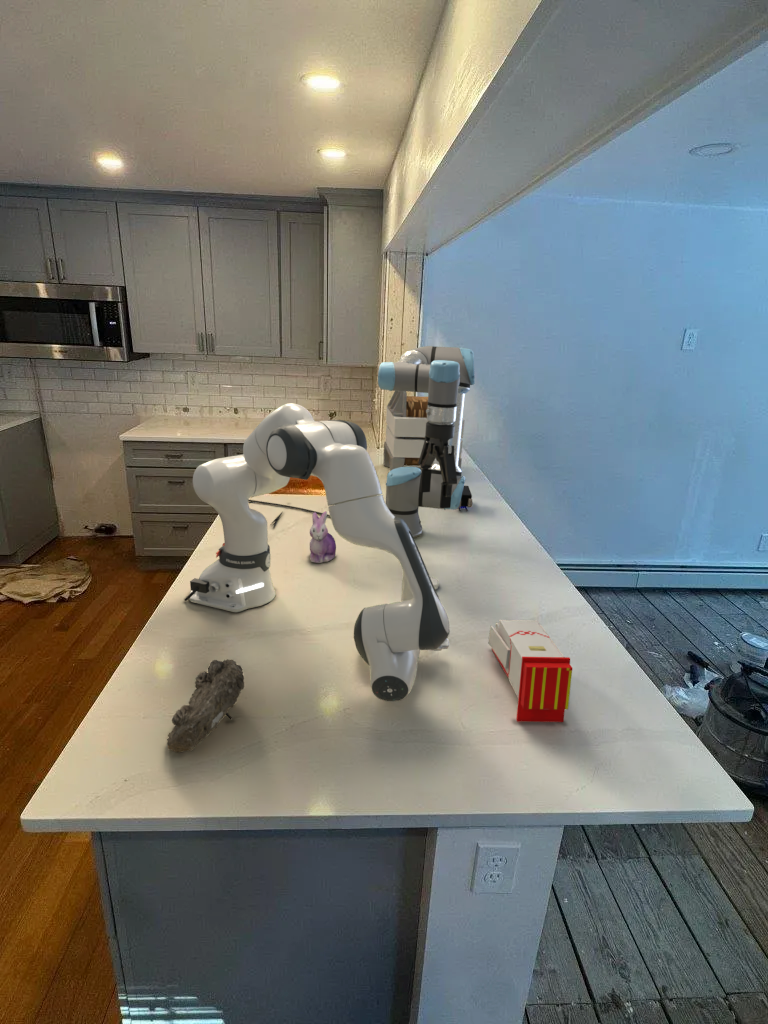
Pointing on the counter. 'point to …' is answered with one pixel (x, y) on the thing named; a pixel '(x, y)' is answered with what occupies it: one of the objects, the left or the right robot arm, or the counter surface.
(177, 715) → the fossil
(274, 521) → the feather
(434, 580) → the lid
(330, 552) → the figurine
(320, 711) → the counter surface
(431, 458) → the right robot arm
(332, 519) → the left robot arm
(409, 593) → the jar
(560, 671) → the toy
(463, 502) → the figurine character
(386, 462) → the transformer
